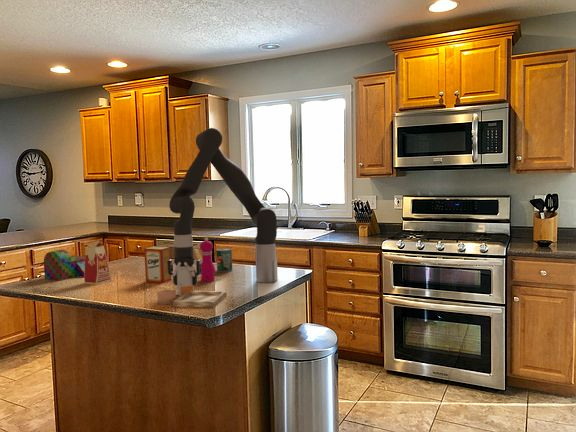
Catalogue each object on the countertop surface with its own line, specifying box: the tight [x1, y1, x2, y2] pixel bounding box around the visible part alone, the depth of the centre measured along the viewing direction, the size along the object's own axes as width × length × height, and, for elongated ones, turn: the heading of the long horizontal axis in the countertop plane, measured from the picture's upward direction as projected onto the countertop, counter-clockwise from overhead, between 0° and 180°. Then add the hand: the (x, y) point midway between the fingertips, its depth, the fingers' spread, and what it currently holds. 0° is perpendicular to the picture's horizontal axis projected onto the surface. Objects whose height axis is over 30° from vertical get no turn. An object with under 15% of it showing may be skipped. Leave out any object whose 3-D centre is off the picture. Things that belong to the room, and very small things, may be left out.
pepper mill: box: [199, 237, 216, 283], centre depth 226 cm, size 7×7×20 cm
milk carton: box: [83, 239, 113, 286], centre depth 228 cm, size 9×9×20 cm
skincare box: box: [175, 265, 195, 297], centre depth 200 cm, size 6×4×12 cm
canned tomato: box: [215, 247, 233, 273], centre depth 249 cm, size 8×8×11 cm
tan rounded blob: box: [156, 289, 177, 305], centre depth 189 cm, size 7×7×4 cm
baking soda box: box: [143, 245, 172, 284], centre depth 227 cm, size 10×6×16 cm
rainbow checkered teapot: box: [43, 249, 85, 281], centre depth 247 cm, size 25×17×14 cm
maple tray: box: [172, 290, 228, 308], centre depth 189 cm, size 16×16×2 cm
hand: (185, 284), depth 200 cm, fingers closed on skincare box, 7 cm apart
